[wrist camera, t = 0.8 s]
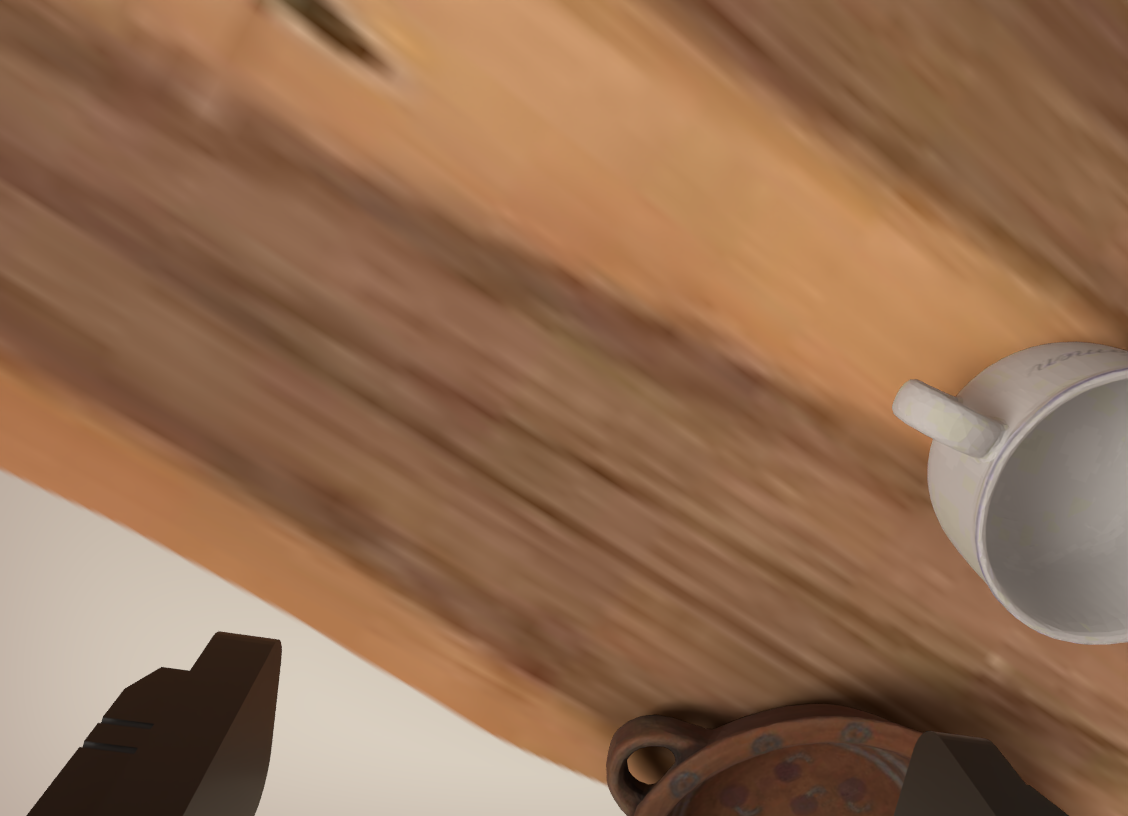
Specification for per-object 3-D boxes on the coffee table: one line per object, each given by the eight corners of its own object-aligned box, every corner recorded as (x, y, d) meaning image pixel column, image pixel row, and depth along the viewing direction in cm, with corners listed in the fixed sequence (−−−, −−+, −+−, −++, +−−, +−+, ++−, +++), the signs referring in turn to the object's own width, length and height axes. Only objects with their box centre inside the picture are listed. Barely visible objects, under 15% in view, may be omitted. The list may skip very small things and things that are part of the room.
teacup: (1190, 425, 41) (1344, 483, 34) (1021, 609, 43) (1130, 704, 35) (959, 231, 39) (1067, 246, 31) (791, 436, 41) (853, 497, 33)
